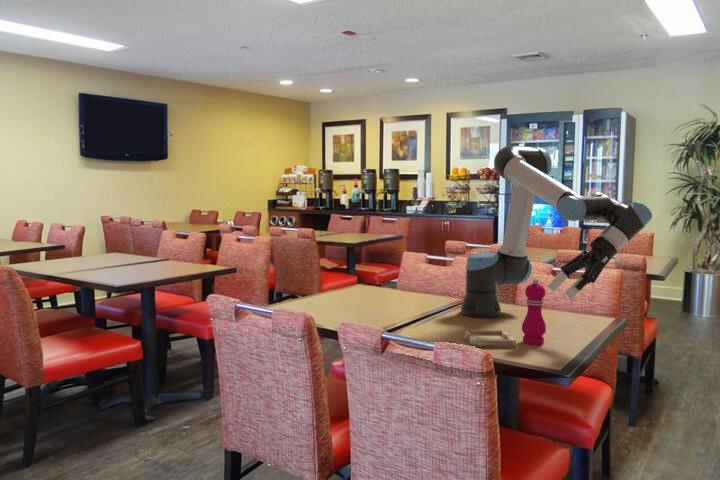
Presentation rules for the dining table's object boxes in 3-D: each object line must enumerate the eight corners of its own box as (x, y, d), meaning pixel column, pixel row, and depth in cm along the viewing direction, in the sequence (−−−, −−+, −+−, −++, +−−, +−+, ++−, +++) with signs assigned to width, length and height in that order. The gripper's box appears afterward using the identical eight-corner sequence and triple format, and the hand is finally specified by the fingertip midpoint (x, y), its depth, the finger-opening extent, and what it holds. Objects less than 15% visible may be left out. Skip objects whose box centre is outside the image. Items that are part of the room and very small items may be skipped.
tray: (463, 336, 183) (463, 330, 183) (503, 337, 183) (503, 330, 183) (472, 347, 170) (473, 340, 170) (515, 347, 171) (516, 340, 170)
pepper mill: (517, 339, 181) (520, 277, 179) (539, 339, 181) (542, 277, 180) (526, 345, 173) (528, 280, 172) (549, 345, 174) (551, 280, 172)
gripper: (638, 256, 163) (584, 308, 163) (597, 248, 188) (551, 293, 188) (620, 238, 162) (567, 290, 163) (582, 232, 187) (536, 277, 187)
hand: (558, 292), depth 175 cm, fingers open, 13 cm apart
